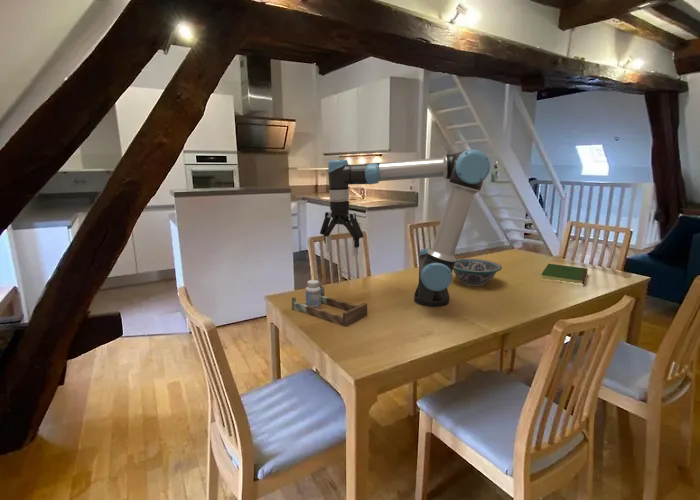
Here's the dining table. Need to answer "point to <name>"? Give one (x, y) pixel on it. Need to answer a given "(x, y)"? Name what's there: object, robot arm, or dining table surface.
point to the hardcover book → (565, 273)
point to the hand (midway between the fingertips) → (341, 253)
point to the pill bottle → (313, 294)
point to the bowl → (475, 271)
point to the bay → (348, 317)
